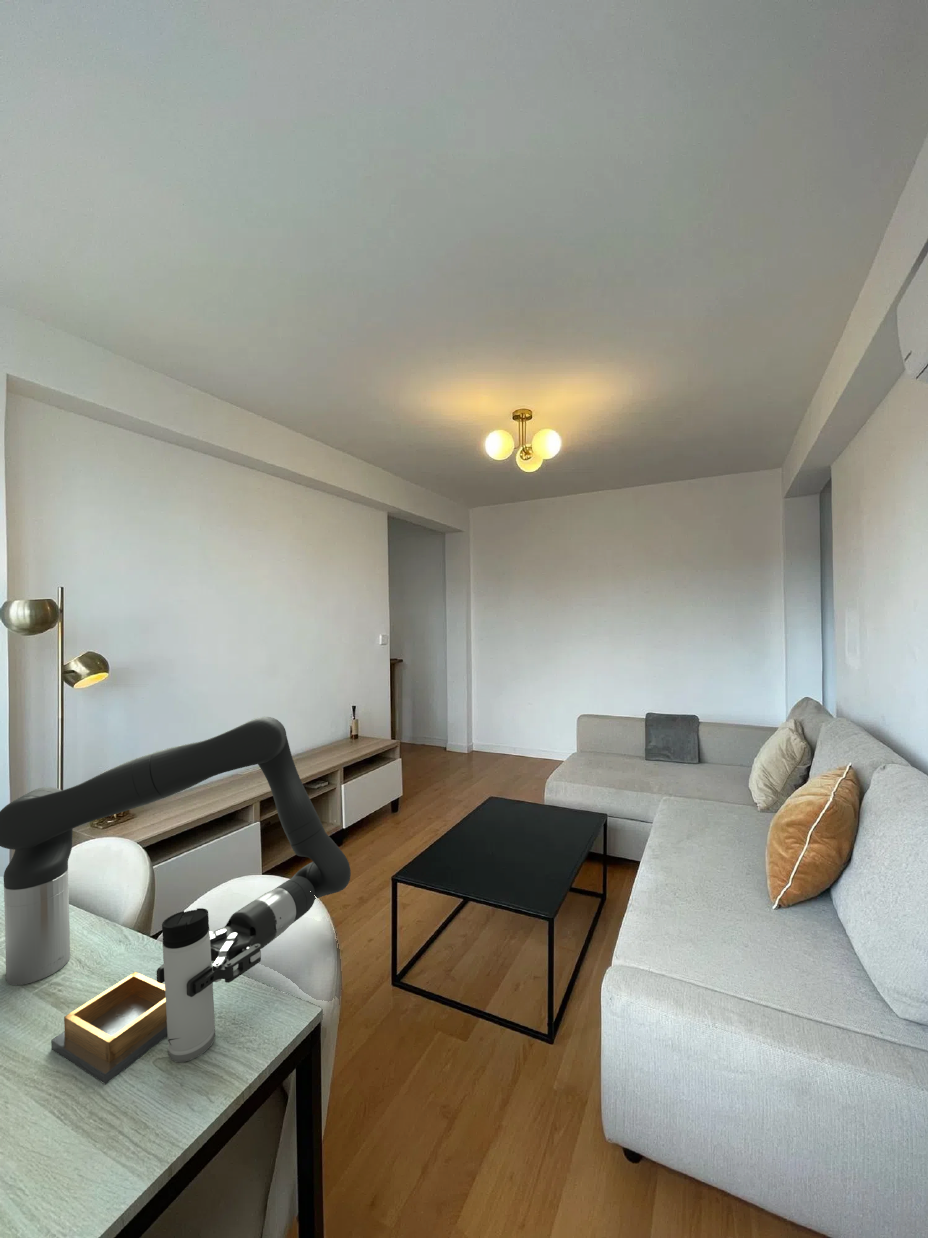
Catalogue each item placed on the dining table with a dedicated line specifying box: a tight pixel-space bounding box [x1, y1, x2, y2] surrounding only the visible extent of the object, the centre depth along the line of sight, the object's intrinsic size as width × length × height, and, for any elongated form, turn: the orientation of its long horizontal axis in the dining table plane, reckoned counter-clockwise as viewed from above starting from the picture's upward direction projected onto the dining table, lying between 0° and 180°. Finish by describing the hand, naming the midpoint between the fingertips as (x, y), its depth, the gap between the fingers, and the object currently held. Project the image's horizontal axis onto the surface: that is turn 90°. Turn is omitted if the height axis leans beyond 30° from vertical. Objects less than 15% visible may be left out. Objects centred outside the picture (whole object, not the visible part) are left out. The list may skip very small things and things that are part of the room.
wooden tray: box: [50, 971, 168, 1085], centre depth 78 cm, size 14×13×4 cm
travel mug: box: [161, 907, 216, 1063], centre depth 75 cm, size 6×7×20 cm
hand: (173, 983), depth 73 cm, fingers closed on travel mug, 6 cm apart
